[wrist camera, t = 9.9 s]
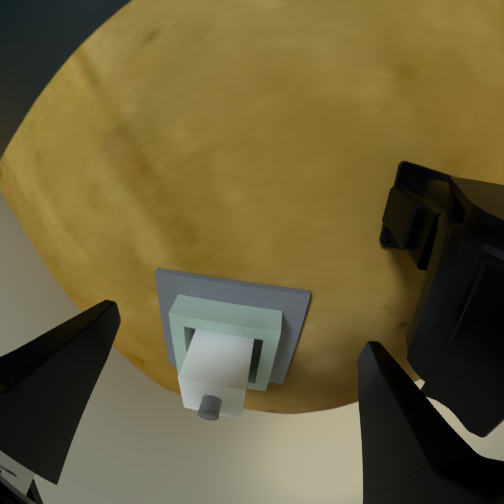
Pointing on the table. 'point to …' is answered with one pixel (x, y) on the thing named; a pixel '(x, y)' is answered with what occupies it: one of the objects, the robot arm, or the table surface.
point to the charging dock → (233, 319)
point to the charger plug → (216, 374)
